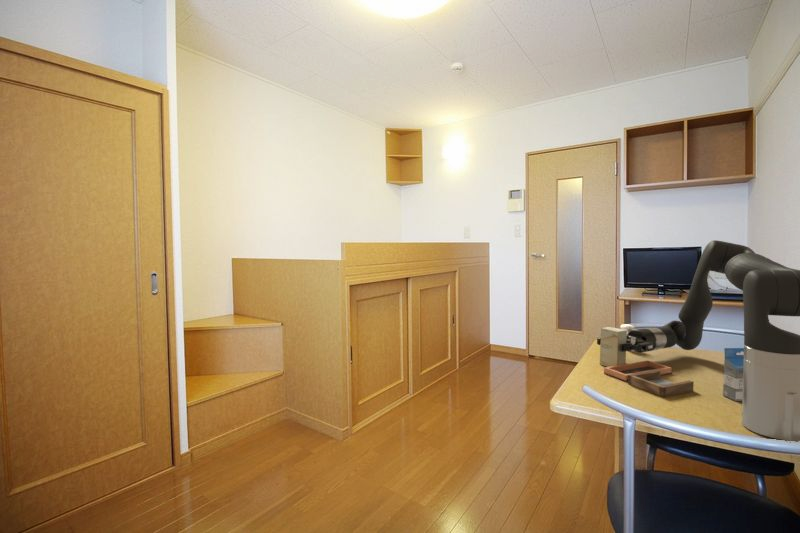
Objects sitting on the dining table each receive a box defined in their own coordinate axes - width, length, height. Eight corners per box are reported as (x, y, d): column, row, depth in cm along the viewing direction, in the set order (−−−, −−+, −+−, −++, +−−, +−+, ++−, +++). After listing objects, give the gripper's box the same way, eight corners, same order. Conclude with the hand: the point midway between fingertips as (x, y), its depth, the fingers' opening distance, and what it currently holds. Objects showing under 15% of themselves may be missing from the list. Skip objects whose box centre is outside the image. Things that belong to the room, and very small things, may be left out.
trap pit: (671, 373, 112) (671, 367, 112) (625, 381, 107) (626, 375, 107) (647, 366, 120) (647, 360, 119) (604, 373, 114) (604, 367, 114)
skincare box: (599, 364, 122) (599, 327, 121) (608, 362, 124) (608, 326, 123) (617, 370, 116) (617, 331, 116) (626, 368, 118) (627, 329, 118)
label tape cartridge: (735, 402, 92) (736, 352, 91) (722, 395, 96) (723, 348, 95) (772, 401, 92) (774, 351, 91) (758, 395, 95) (759, 347, 95)
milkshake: (638, 350, 137) (639, 323, 136) (622, 350, 138) (623, 323, 137) (633, 347, 141) (634, 320, 141) (618, 346, 142) (618, 320, 142)
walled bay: (693, 391, 99) (693, 381, 99) (663, 397, 95) (663, 387, 95) (656, 378, 108) (656, 370, 108) (628, 383, 105) (628, 375, 105)
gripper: (627, 324, 131) (590, 328, 126) (668, 333, 117) (629, 338, 112) (627, 345, 131) (590, 350, 126) (667, 356, 118) (628, 362, 113)
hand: (608, 344), depth 119 cm, fingers open, 8 cm apart
